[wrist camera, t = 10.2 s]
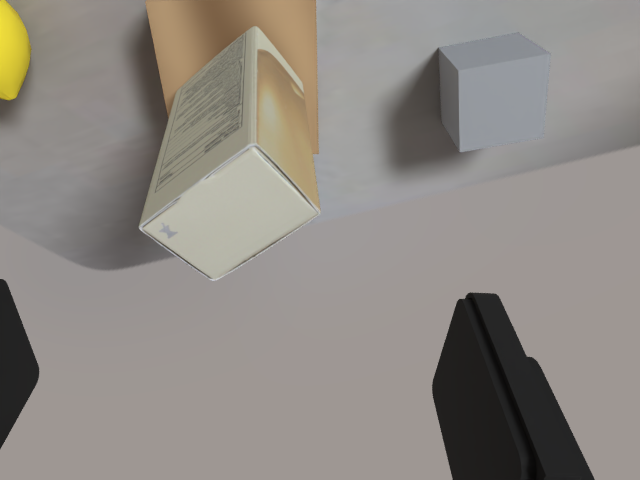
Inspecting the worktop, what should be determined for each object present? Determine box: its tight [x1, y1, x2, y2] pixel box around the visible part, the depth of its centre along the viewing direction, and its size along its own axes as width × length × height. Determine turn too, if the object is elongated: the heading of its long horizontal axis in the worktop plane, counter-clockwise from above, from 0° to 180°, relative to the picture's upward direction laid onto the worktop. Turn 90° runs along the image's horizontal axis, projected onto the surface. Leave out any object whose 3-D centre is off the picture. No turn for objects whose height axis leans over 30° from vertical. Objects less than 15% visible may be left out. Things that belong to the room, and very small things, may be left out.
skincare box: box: [139, 26, 321, 281], centre depth 24 cm, size 6×4×12 cm
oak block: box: [145, 0, 319, 154], centre depth 31 cm, size 9×9×4 cm
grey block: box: [438, 32, 551, 152], centre depth 31 cm, size 5×5×5 cm
